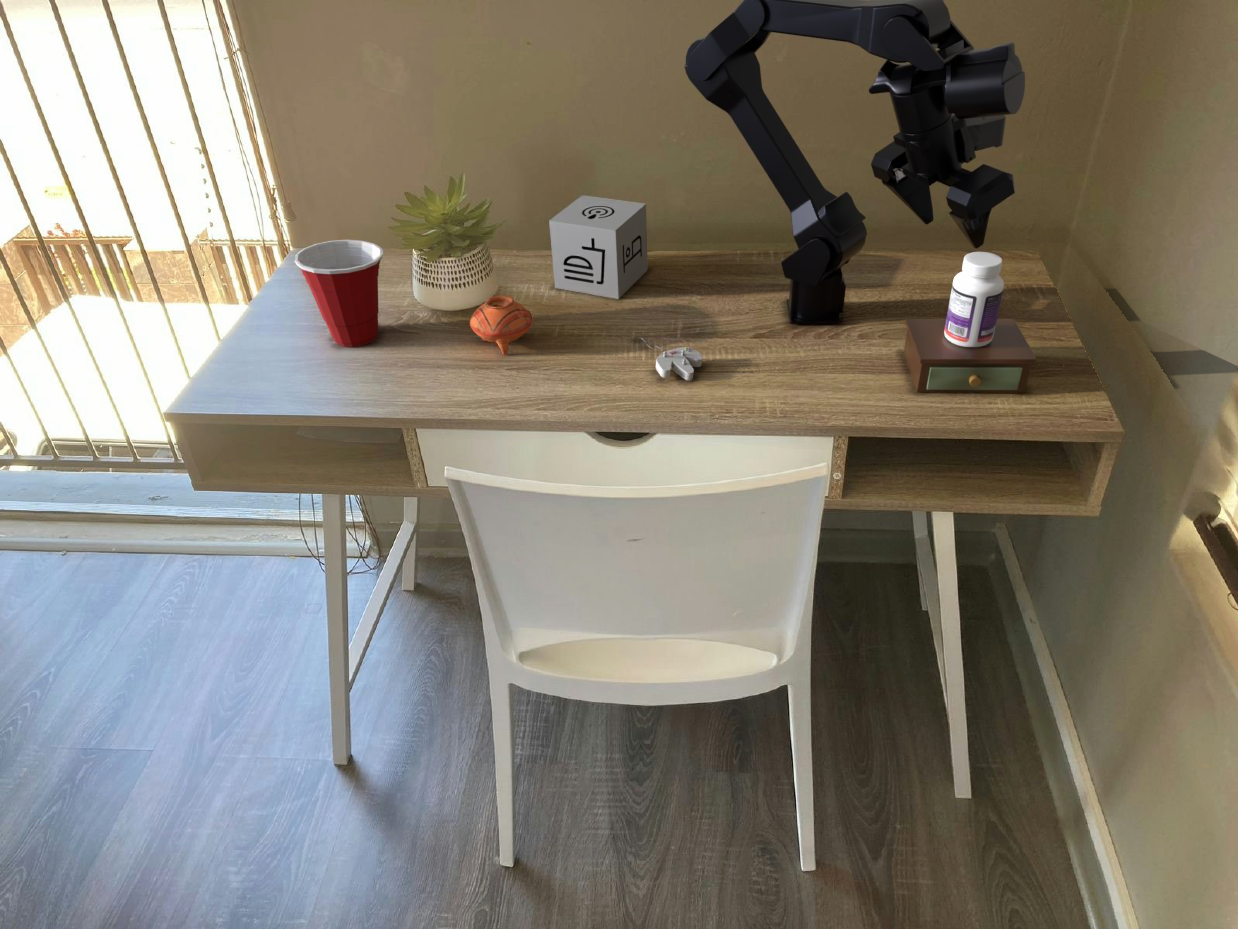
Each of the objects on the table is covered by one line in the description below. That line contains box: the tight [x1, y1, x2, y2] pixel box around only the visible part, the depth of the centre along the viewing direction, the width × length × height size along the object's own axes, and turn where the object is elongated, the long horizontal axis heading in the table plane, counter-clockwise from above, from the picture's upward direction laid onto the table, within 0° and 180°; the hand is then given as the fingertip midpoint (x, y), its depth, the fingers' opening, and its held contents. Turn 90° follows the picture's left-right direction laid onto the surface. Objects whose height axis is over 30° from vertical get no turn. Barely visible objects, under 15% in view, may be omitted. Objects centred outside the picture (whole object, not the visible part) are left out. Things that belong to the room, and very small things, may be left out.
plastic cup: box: [294, 239, 384, 348], centre depth 121 cm, size 11×11×12 cm
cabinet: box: [903, 318, 1037, 394], centre depth 110 cm, size 13×10×5 cm
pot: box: [469, 295, 534, 356], centre depth 120 cm, size 8×8×7 cm
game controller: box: [637, 337, 703, 382], centre depth 115 cm, size 6×12×3 cm, turn 49°
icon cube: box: [548, 194, 649, 300], centre depth 133 cm, size 10×10×10 cm
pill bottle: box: [944, 251, 1005, 347], centre depth 106 cm, size 5×5×10 cm
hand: (953, 233), depth 114 cm, fingers open, 9 cm apart
